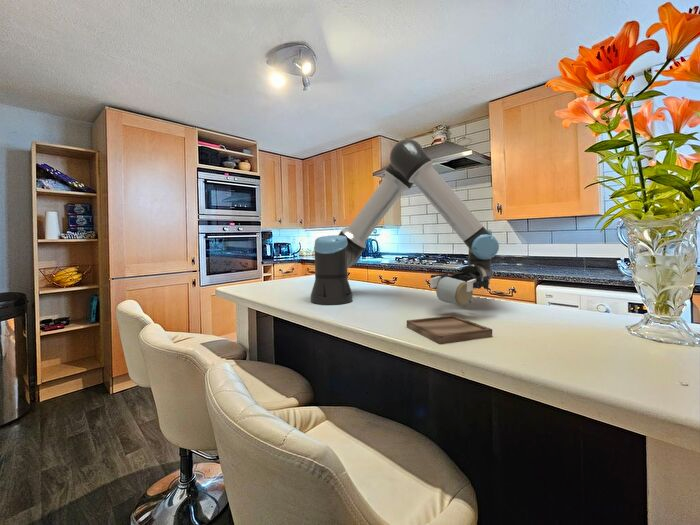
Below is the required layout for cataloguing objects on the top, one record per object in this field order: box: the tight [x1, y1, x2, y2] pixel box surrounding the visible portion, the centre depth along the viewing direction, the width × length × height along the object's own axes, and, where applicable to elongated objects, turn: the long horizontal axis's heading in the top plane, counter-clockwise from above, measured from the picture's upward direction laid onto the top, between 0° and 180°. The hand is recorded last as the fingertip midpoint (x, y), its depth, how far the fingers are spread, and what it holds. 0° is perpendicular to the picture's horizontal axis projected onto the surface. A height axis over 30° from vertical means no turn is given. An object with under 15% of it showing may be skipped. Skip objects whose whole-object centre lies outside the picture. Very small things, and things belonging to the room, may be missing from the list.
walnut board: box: [406, 314, 493, 345], centre depth 76 cm, size 14×14×2 cm
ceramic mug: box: [435, 277, 475, 307], centre depth 92 cm, size 10×8×7 cm
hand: (449, 284), depth 87 cm, fingers closed on ceramic mug, 9 cm apart
